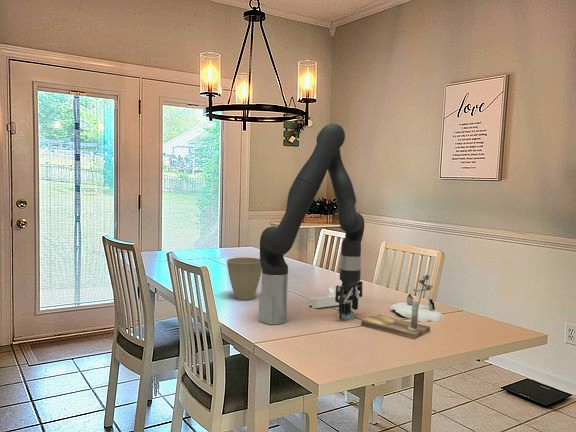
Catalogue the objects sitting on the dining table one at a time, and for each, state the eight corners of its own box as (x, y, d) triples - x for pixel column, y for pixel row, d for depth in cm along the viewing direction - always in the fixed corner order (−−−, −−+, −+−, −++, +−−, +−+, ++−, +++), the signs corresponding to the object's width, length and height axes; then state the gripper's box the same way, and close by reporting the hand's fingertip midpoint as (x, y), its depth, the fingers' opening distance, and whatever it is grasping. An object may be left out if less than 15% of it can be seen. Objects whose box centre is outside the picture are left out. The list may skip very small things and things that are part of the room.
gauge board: (413, 339, 162) (415, 307, 161) (358, 325, 176) (359, 295, 175) (429, 331, 171) (431, 301, 170) (376, 318, 185) (377, 290, 184)
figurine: (380, 309, 194) (386, 268, 191) (408, 303, 206) (414, 265, 203) (424, 327, 179) (431, 284, 176) (452, 320, 191) (458, 278, 188)
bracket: (333, 304, 207) (331, 286, 208) (344, 304, 201) (341, 285, 202) (307, 308, 200) (305, 289, 201) (317, 307, 194) (315, 288, 195)
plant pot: (243, 292, 219) (244, 255, 217) (269, 298, 209) (270, 260, 208) (218, 297, 207) (219, 259, 206) (244, 304, 198) (245, 264, 196)
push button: (352, 315, 187) (353, 289, 186) (359, 319, 182) (361, 292, 181) (336, 317, 185) (337, 290, 184) (343, 321, 180) (344, 293, 179)
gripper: (348, 271, 174) (346, 317, 175) (369, 266, 185) (367, 309, 186) (330, 268, 179) (328, 313, 180) (352, 263, 190) (350, 305, 191)
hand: (348, 311), depth 183 cm, fingers open, 8 cm apart
